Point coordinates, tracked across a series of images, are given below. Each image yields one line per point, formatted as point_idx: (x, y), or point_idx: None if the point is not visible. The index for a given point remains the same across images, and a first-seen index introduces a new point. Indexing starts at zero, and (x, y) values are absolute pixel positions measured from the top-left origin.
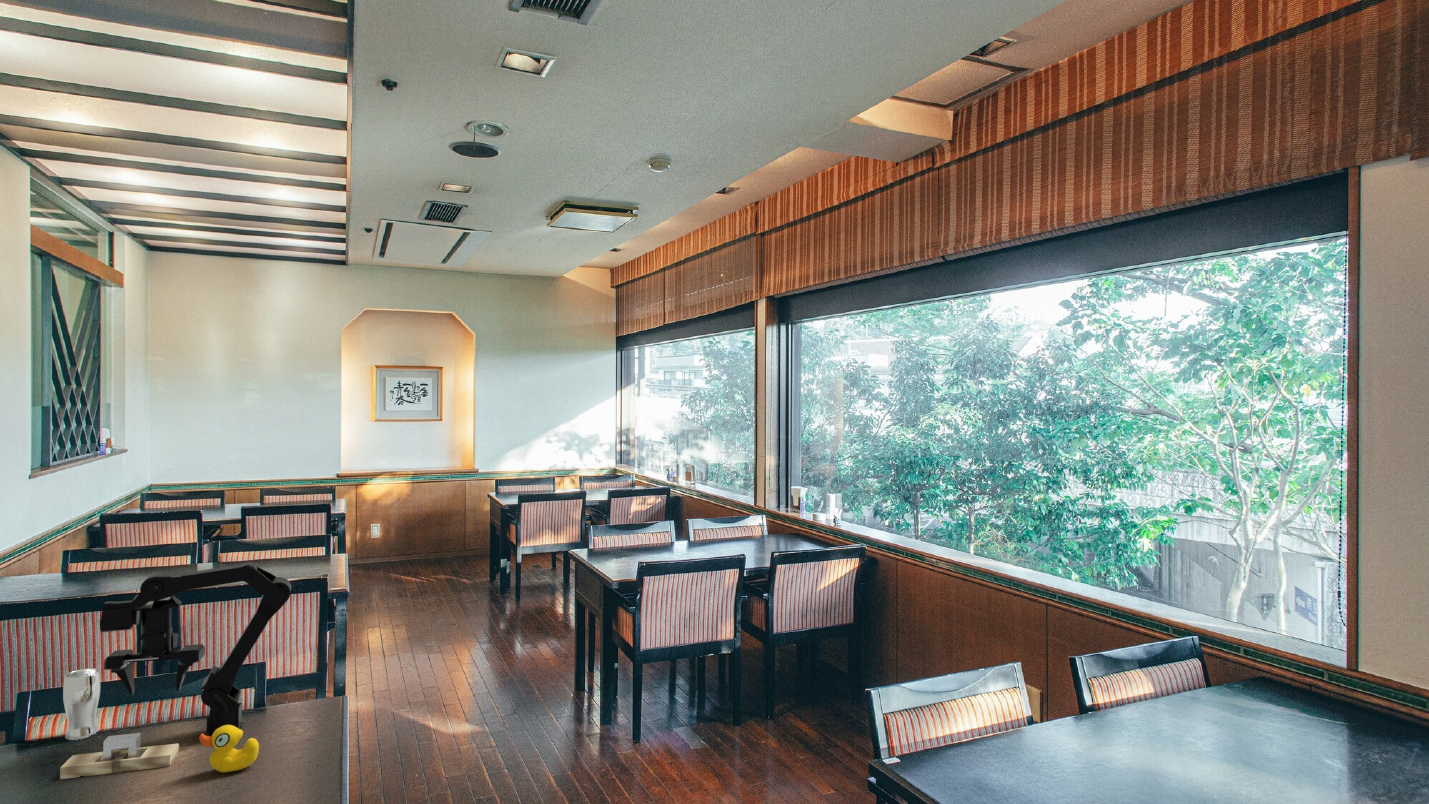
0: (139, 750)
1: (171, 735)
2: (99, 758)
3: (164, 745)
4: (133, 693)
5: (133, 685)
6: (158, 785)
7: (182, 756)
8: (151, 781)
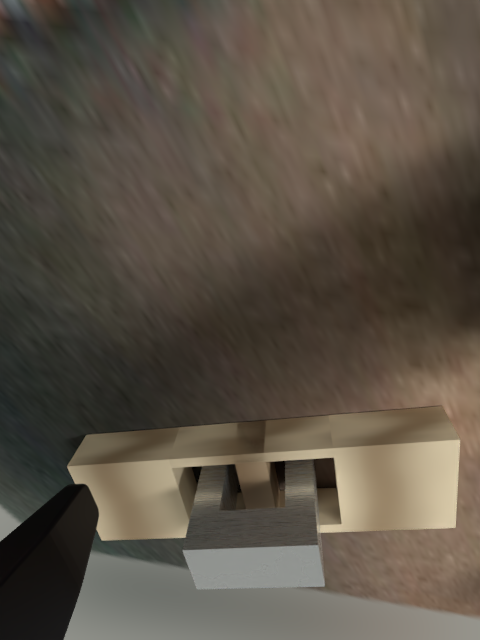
0: (314, 486)
1: (329, 192)
2: (181, 490)
3: (399, 448)
4: (88, 502)
5: (40, 580)
6: (443, 584)
7: (463, 425)
8: (412, 562)
